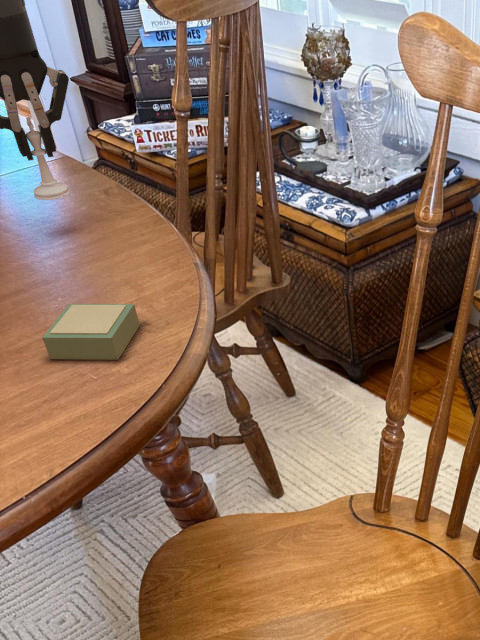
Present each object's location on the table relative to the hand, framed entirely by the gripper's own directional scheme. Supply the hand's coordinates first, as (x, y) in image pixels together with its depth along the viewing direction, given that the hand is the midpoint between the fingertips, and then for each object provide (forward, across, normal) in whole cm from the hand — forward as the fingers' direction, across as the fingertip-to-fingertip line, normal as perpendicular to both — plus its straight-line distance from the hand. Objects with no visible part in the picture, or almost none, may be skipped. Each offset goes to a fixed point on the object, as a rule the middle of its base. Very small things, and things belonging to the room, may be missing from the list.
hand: (39, 156), depth 109 cm
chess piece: (+5, 0, 0) cm, 5 cm away
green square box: (+11, +2, +36) cm, 38 cm away
